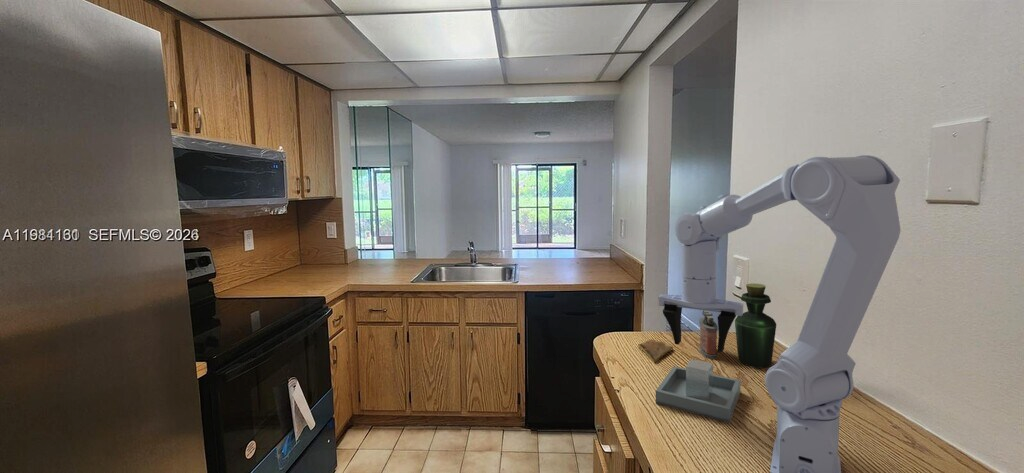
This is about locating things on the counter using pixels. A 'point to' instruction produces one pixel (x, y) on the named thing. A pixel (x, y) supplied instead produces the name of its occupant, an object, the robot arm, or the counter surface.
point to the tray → (716, 408)
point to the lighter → (708, 335)
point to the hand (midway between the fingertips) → (698, 346)
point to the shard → (655, 349)
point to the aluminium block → (699, 380)
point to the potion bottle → (755, 329)
